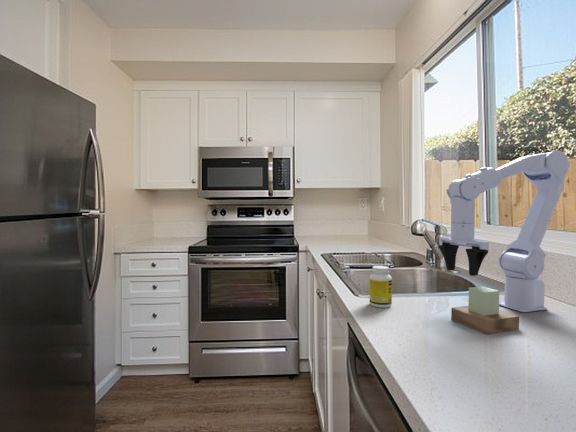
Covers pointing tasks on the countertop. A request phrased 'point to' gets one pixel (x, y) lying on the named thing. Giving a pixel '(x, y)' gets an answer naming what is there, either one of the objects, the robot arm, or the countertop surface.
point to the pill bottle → (380, 287)
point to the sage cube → (483, 300)
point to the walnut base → (485, 320)
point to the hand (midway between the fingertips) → (461, 272)
